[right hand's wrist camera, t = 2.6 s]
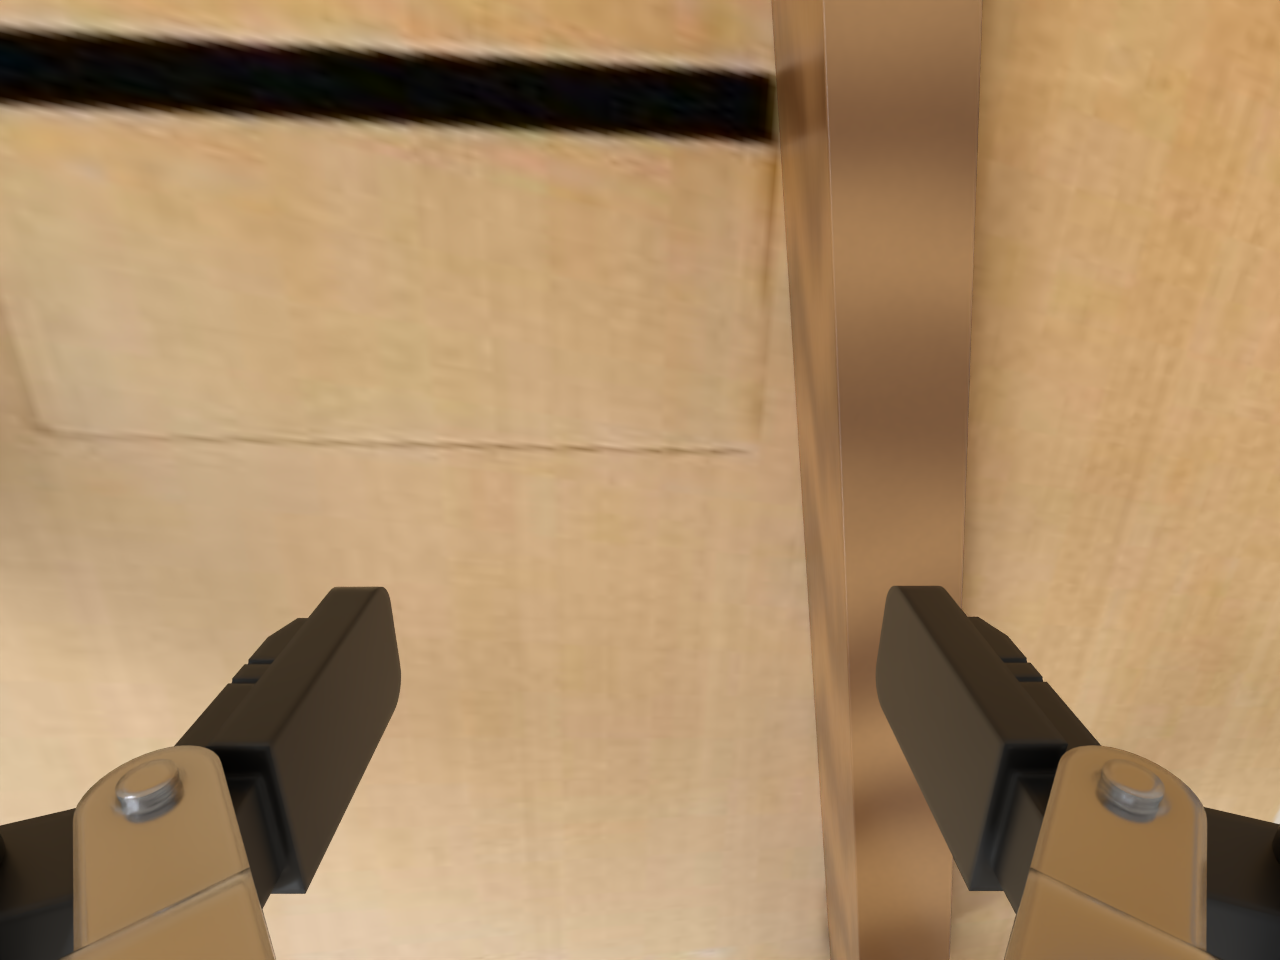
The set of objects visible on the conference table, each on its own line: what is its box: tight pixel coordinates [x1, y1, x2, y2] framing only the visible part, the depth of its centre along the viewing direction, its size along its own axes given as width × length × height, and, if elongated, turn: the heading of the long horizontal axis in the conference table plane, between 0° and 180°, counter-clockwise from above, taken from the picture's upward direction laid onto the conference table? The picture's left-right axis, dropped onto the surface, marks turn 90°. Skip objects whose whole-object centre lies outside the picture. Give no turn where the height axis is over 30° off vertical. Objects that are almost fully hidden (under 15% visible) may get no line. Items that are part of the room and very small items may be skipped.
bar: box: [772, 0, 983, 960], centre depth 31 cm, size 64×5×7 cm, turn 8°
